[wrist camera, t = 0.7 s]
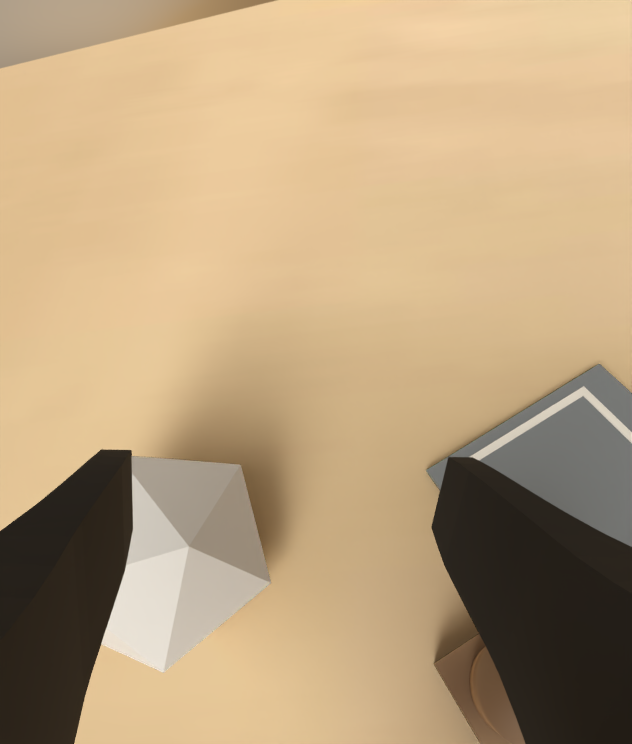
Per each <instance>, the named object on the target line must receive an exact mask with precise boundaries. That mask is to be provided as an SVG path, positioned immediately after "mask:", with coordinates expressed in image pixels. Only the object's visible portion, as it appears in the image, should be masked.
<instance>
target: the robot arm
mask: <svg viewBox="0 0 632 744" xmlns="http://www.w3.org/2000/svg"><path fill="white" fill-rule="evenodd" d="M432 530H433V533H434V536H435V540H436V543H437V546H438V549H439V551H440V554H441V557H442V560H443V562H444V565H445V567H446V569H447V571H448V573H449V576H450V578H451V580H452V582H453V584H454V586H455V587H456V589H457V591H458V593H459V595H460V597H461V599H462V601H463V603H464V605H465V607H466V609H467V611H468V613H469V615H470V617H471V619H472V621H473V623H474V625H475V627H476V628H477V630H478V632H479V634H480V636H481V638H482V640H483V642H484V644H485V646H486V648H487V650H488V652H489V654H490V656H491V658H492V660H493V662H494V665H495V667H496V669H497V671H498V673H499V676H500V678H501V681H502V683H503V686H504V688H505V691H506V694H507V696H508V699H509V701H510V704H511V706H512V709H513V711H514V714H515V716H516V719H517V722H518V724H519V727H520V730H521V733H522V735H523V738H524V741H525V744H632V547H631V546H629V545H627V544H625V543H623V542H621V541H618V540H616V539H614V538H612V537H610V536H608V535H606V534H604V533H602V532H601V531H599V530H597V529H595V528H593V527H591V526H589V525H588V524H586V523H584V522H582V521H580V520H579V519H577V518H575V517H573V516H571V515H570V514H568V513H566V512H564V511H563V510H561V509H559V508H558V507H556V506H554V505H552V504H551V503H549V502H547V501H546V500H544V499H543V498H541V497H539V496H538V495H536V494H534V493H533V492H531V491H529V490H528V489H526V488H525V487H523V486H521V485H520V484H518V483H517V482H515V481H513V480H512V479H510V478H508V477H507V476H505V475H504V474H502V473H500V472H499V471H497V470H495V469H493V468H492V467H490V466H488V465H487V464H485V463H483V462H481V461H479V460H477V459H475V458H473V457H448V460H447V465H446V469H445V473H444V477H443V481H442V485H441V490H440V494H439V498H438V502H437V506H436V511H435V515H434V519H433V523H432ZM132 532H133V502H132V452H131V450H100V451H99V452H98V453H97V454H96V455H94V456H93V457H92V458H91V459H89V460H88V461H87V462H86V463H85V464H84V465H83V466H81V467H80V468H79V469H78V470H77V471H76V472H75V473H73V474H72V475H71V476H70V477H69V478H68V479H66V480H65V481H64V482H63V483H62V484H61V485H59V486H58V487H57V488H56V489H55V490H53V491H52V492H51V493H50V494H49V495H47V496H46V497H45V498H44V499H42V500H41V501H40V502H39V503H38V504H36V505H35V506H34V507H32V508H31V509H29V510H28V511H27V512H25V513H24V514H23V515H21V516H20V517H19V518H17V519H16V520H15V521H13V522H12V523H11V524H9V525H8V526H7V527H5V528H4V529H2V530H1V531H0V744H74V742H75V737H76V733H77V729H78V724H79V720H80V715H81V711H82V707H83V702H84V698H85V694H86V691H87V687H88V684H89V680H90V677H91V673H92V670H93V667H94V664H95V661H96V658H97V655H98V652H99V649H100V646H101V643H102V640H103V637H104V634H105V631H106V628H107V625H108V622H109V619H110V616H111V613H112V610H113V607H114V603H115V600H116V597H117V594H118V591H119V588H120V585H121V582H122V579H123V576H124V572H125V568H126V563H127V558H128V553H129V548H130V542H131V537H132Z"/></svg>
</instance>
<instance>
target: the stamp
mask: <svg viewBox="0 0 632 744" xmlns="http://www.w3.org/2000/svg"><path fill="white" fill-rule="evenodd" d="M434 666H435V667H436V669H437V671H438V673H439V674H440V676H441V678H442V679H443V681H444V683H445V684H446V686H447V688H448V689H449V691H450V693H451V695H452V696H453V698H454V700H455V701H456V703H457V705H458V706H459V708H460V710H461V712H462V713H463V715H464V717H465V718H466V720H467V722H468V723H469V725H470V727H471V729H472V730H473V732H474V734H475V735H476V737H477V739H478V740H479V742H480V744H525V741H524V738H523V735H522V733H521V730H520V727H519V724H518V722H517V719H516V716H515V714H514V711H513V709H512V706H511V704H510V701H509V699H508V696H507V694H506V691H505V688H504V686H503V683H502V681H501V678H500V676H499V673H498V671H497V669H496V667H495V665H494V662H493V660H492V658H491V656H490V654H489V652H488V650H487V648H486V646H485V644H484V642H483V640H482V638H481V636H480V634H478V635H476V636H475V637H473V638H472V639H470V640H469V641H467V642H465V643H464V644H462V645H461V646H459V647H458V648H456V649H455V650H453V651H452V652H450V653H449V654H447V655H446V656H444V657H443V658H441V659H440V660H438V661H437V662H435V663H434Z"/></svg>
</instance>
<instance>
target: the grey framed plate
mask: <svg viewBox="0 0 632 744" xmlns="http://www.w3.org/2000/svg"><path fill="white" fill-rule="evenodd" d="M448 457H473V458H475V459H477V460H479V461H481V462H483V463H485V464H487V465H488V466H490V467H492V468H493V469H495V470H497V471H499V472H500V473H502V474H504V475H505V476H507V477H508V478H510V479H512V480H513V481H515V482H517V483H518V484H520V485H521V486H523V487H525V488H526V489H528V490H529V491H531V492H533V493H534V494H536V495H538V496H539V497H541V498H543V499H544V500H546V501H547V502H549V503H551V504H552V505H554V506H556V507H558V508H559V509H561V510H563V511H564V512H566V513H568V514H570V515H571V516H573V517H575V518H577V519H579V520H580V521H582V522H584V523H586V524H588V525H589V526H591V527H593V528H595V529H597V530H599V531H601V532H602V533H604V534H606V535H608V536H610V537H612V538H614V539H616V540H618V541H621V542H623V543H625V544H627V545H629V546H631V547H632V393H631V392H630V391H629V390H628V389H627V388H625V387H624V386H623V385H622V384H621V383H620V382H619V381H618V380H617V379H616V378H615V377H613V376H612V375H611V374H610V373H609V372H608V371H607V370H606V369H605V368H604V367H602V366H601V365H600V364H598V365H596V366H595V367H593V368H591V369H590V370H588V371H587V372H585V373H583V374H582V375H580V376H578V377H577V378H575V379H574V380H572V381H570V382H569V383H567V384H565V385H564V386H562V387H561V388H559V389H557V390H556V391H554V392H552V393H551V394H549V395H548V396H546V397H544V398H543V399H541V400H539V401H538V402H536V403H535V404H533V405H531V406H530V407H528V408H526V409H525V410H523V411H521V412H520V413H518V414H517V415H515V416H513V417H512V418H510V419H508V420H507V421H505V422H504V423H502V424H500V425H499V426H497V427H495V428H494V429H492V430H491V431H489V432H487V433H486V434H484V435H482V436H481V437H479V438H478V439H476V440H474V441H473V442H471V443H469V444H468V445H466V446H465V447H463V448H461V449H460V450H458V451H456V452H455V453H453V454H452V455H450V456H448ZM448 457H447V458H445V459H443V460H442V461H440V462H439V463H437V464H435V465H434V466H432V467H430V468H429V469H427V470H426V472H427V473H428V475H429V476H430V477H431V479H432V480H433V482H434V483H435V484H436V486H437V487H438V489H439V490H441V485H442V481H443V477H444V473H445V469H446V465H447V460H448Z"/></svg>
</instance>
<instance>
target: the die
mask: <svg viewBox="0 0 632 744" xmlns="http://www.w3.org/2000/svg"><path fill="white" fill-rule="evenodd" d="M132 502H133V532H132V537H131V542H130V548H129V553H128V558H127V563H126V568H125V572H124V576H123V579H122V582H121V585H120V588H119V591H118V594H117V597H116V600H115V603H114V607H113V610H112V613H111V616H110V619H109V622H108V625H107V628H106V631H105V634H104V637H103V640H102V643H101V644H102V645H104V646H106V647H109V648H111V649H113V650H115V651H117V652H119V653H122V654H124V655H126V656H128V657H130V658H132V659H135V660H137V661H139V662H141V663H143V664H145V665H147V666H150V667H152V668H154V669H156V670H158V671H160V672H163V673H164V672H165V671H166V670H167V669H169V668H170V667H171V666H172V665H173V664H175V663H176V662H177V661H178V660H179V659H181V658H182V657H183V656H184V655H185V654H187V653H188V652H189V651H190V650H191V649H193V648H194V647H195V646H196V645H197V644H199V643H200V642H201V641H202V640H203V639H205V638H206V637H207V636H208V635H209V634H211V633H212V632H213V631H214V630H215V629H217V628H218V627H219V626H220V625H221V624H223V623H224V622H225V621H226V620H227V619H229V618H230V617H231V616H232V615H233V614H235V613H236V612H237V611H238V610H239V609H241V608H242V607H243V606H244V605H245V604H247V603H248V602H249V601H250V600H251V599H253V598H254V597H255V596H256V595H257V594H259V593H260V592H261V591H262V590H263V589H265V588H266V587H267V586H268V585H269V584H271V580H270V576H269V573H268V569H267V565H266V561H265V557H264V553H263V549H262V545H261V541H260V538H259V534H258V530H257V526H256V522H255V518H254V514H253V510H252V506H251V503H250V499H249V495H248V491H247V487H246V483H245V479H244V475H243V471H242V468H241V465H239V464H227V463H216V462H204V461H192V460H181V459H169V458H154V457H139V456H132Z"/></svg>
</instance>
